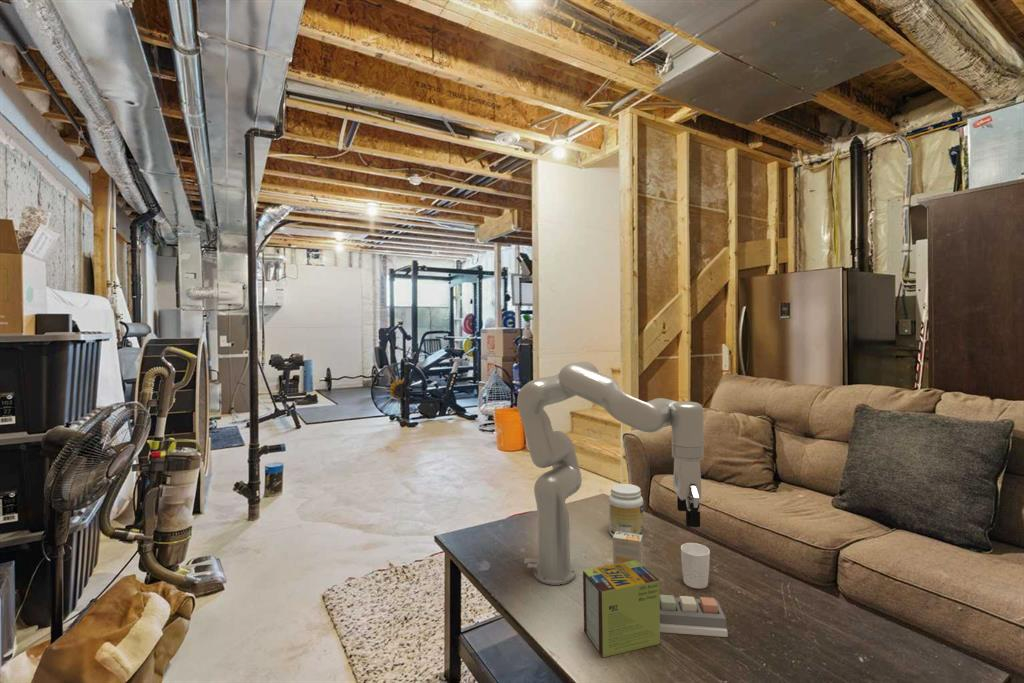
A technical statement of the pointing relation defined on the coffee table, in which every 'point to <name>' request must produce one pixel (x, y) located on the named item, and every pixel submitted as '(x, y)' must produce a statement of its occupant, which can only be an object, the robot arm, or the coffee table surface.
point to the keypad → (693, 621)
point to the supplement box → (627, 547)
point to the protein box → (621, 607)
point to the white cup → (695, 565)
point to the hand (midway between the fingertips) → (688, 518)
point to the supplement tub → (626, 509)
